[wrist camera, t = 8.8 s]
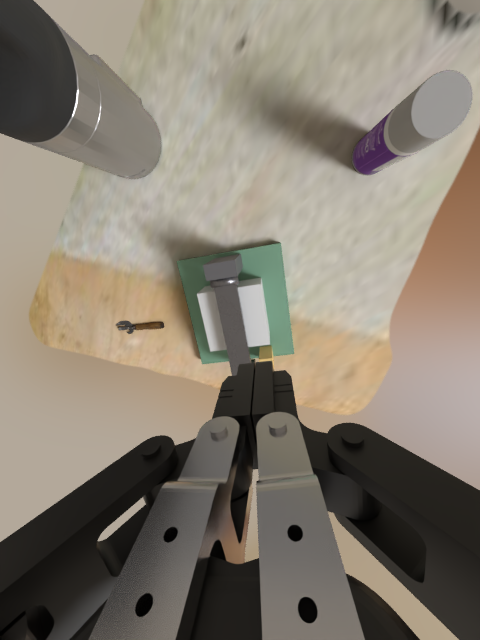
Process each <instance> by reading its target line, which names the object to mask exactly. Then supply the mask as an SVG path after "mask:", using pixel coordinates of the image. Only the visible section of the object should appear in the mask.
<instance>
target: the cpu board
mask: <svg viewBox="0 0 480 640" xmlns="http://www.w3.org/2000/svg"><path fill="white" fill-rule="evenodd" d="M177 264H178V268H179V272H180V276H181V280H182V284H183V288H184V293H185V297H186V301H187V305H188V309H189V313H190V317H191V321H192V325H193V329H194V333H195V337H196V341H197V345H198V349H199V353H200V357H201V361H202V364H209V363H218V362H226V361H229V358H228V353H227V348H226V343H225V339H224V334H223V329H222V324H221V320H220V315H219V310H218V305H217V301H216V296H215V291H214V288H213V289H212V288H211V286H210V281H211V280H217V279H223V278H229V277H236V276H238V277H239V284H238V285H237V286H238V291H239V297H240V302H241V308H242V313H243V319H244V324H245V330H246V336H247V341H248V347H249V352H250V358H251V359H253V358H259V362H263V361H272V362H273V368H274V360H273V356H280V355H289V354H294V348H293V340H292V331H291V323H290V315H289V307H288V298H287V290H286V282H285V274H284V266H283V257H282V249H281V243H275V244H270V245H264V246H258V247H253V248H247V249H241V250H236V251H230V252H224V253H219V254H213V255H207V256H202V257H196V258H190V259H185V260H179V261H177Z"/></svg>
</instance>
